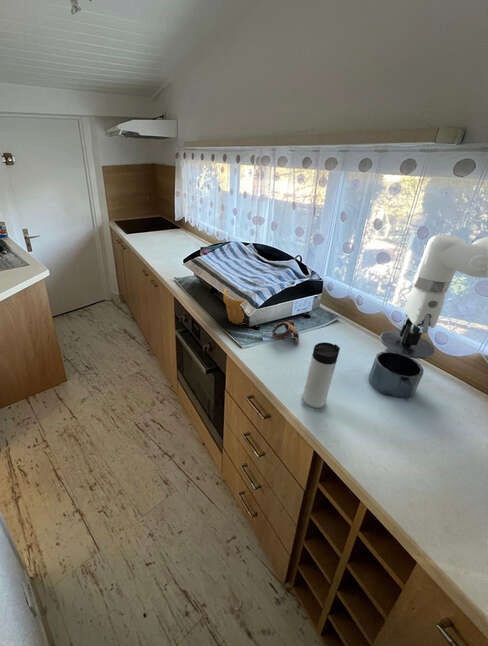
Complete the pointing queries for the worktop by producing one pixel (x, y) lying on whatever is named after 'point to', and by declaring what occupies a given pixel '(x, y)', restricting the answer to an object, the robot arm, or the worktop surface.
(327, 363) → the travel mug
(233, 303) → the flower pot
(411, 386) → the pot
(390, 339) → the lid
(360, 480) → the worktop surface
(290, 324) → the brown goggles
